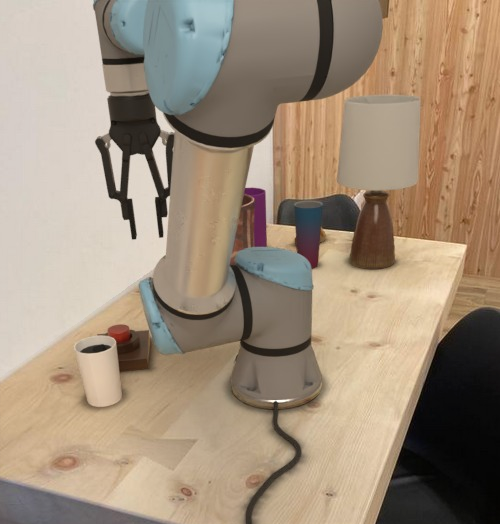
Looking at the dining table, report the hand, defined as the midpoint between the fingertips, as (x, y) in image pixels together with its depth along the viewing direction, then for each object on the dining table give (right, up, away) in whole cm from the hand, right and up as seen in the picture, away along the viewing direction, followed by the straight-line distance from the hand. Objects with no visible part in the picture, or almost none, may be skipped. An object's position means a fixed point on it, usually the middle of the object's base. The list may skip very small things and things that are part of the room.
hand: (147, 236), depth 114 cm
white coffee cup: (-6, -29, -8) cm, 31 cm away
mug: (+18, +9, +54) cm, 58 cm away
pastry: (+35, +14, +60) cm, 70 cm away
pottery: (+11, 0, +40) cm, 41 cm away
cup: (+33, +4, +44) cm, 55 cm away
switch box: (-6, -21, +5) cm, 23 cm away
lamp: (+49, +5, +44) cm, 66 cm away
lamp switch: (-6, -18, +3) cm, 19 cm away
